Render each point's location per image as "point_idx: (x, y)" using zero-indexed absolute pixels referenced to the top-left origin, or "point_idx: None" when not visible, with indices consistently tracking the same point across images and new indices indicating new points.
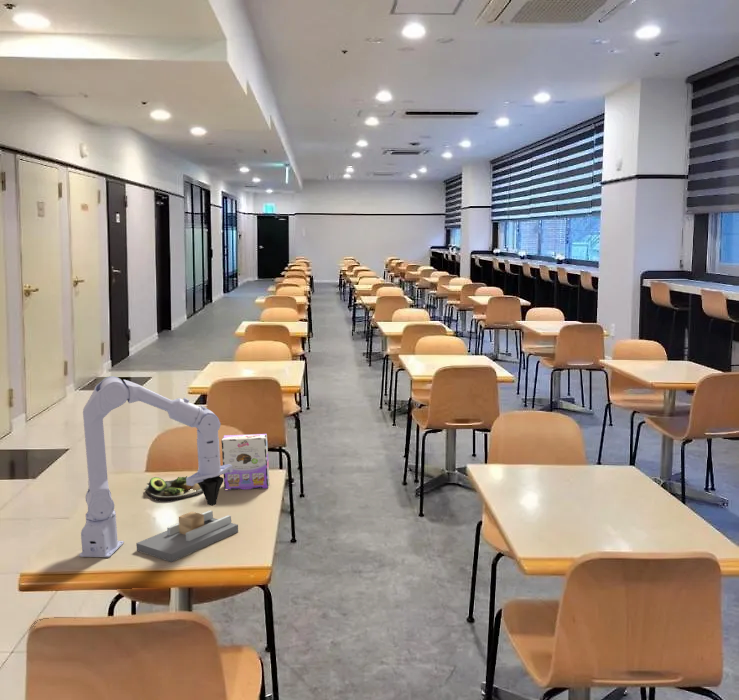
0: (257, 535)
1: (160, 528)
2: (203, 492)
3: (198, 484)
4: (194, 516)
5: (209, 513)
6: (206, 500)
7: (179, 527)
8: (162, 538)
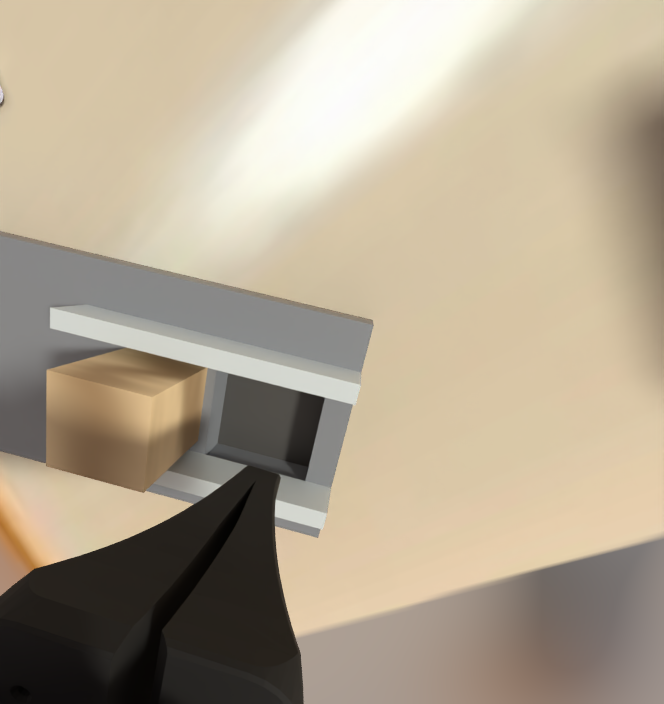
0: (316, 587)
1: (226, 145)
2: (175, 518)
3: (65, 560)
4: (97, 458)
5: (331, 396)
6: (230, 480)
7: (105, 354)
8: (44, 309)
